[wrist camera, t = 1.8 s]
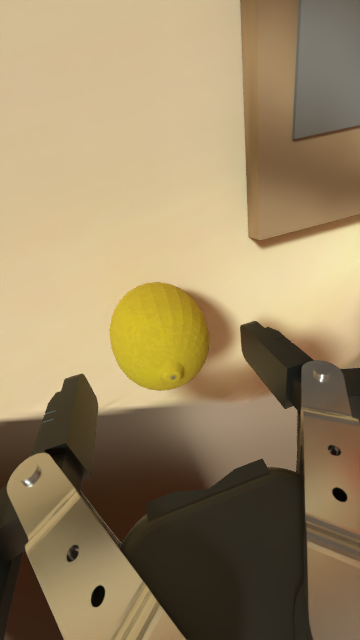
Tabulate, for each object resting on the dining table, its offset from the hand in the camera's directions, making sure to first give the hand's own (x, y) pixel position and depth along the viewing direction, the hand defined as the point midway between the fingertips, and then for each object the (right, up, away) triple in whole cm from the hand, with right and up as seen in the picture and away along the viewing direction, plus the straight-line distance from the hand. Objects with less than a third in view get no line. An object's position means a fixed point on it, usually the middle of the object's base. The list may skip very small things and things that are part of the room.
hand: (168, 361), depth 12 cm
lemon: (-2, +3, +6) cm, 7 cm away
